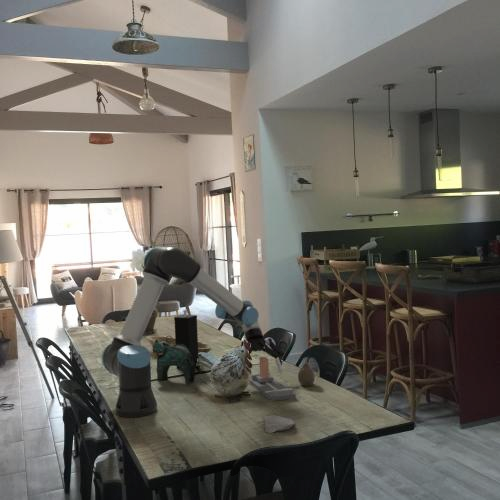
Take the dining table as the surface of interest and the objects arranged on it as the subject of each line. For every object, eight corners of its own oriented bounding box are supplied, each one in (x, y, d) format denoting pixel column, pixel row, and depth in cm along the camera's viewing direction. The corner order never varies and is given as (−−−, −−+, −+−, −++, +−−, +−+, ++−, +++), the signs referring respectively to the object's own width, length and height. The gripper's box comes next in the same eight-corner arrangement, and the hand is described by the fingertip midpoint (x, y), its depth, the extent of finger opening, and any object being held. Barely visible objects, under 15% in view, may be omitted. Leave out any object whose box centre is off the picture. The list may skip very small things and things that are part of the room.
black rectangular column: (176, 368, 263) (173, 310, 261) (185, 364, 270) (183, 307, 268) (189, 370, 259) (187, 311, 258) (199, 365, 266) (196, 308, 265)
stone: (293, 420, 190) (293, 410, 190) (295, 433, 178) (295, 422, 178) (264, 421, 190) (263, 411, 190) (263, 434, 179) (263, 423, 178)
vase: (314, 387, 225) (313, 366, 225) (297, 387, 226) (296, 366, 226) (315, 382, 232) (314, 362, 231) (299, 382, 233) (298, 362, 233)
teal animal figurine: (152, 380, 245) (150, 335, 244) (161, 376, 250) (159, 332, 249) (190, 384, 235) (188, 338, 234) (198, 380, 241) (196, 335, 240)
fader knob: (255, 379, 233) (255, 357, 232) (269, 377, 235) (268, 355, 234) (259, 382, 228) (259, 360, 227) (273, 381, 230) (272, 358, 229)
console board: (249, 383, 234) (249, 375, 234) (271, 380, 238) (271, 372, 237) (271, 401, 210) (271, 392, 210) (295, 397, 213) (295, 388, 213)
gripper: (276, 334, 249) (291, 375, 236) (224, 339, 241) (236, 382, 228) (281, 324, 244) (296, 365, 231) (227, 330, 236) (239, 373, 223)
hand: (266, 374), depth 229 cm, fingers open, 13 cm apart
